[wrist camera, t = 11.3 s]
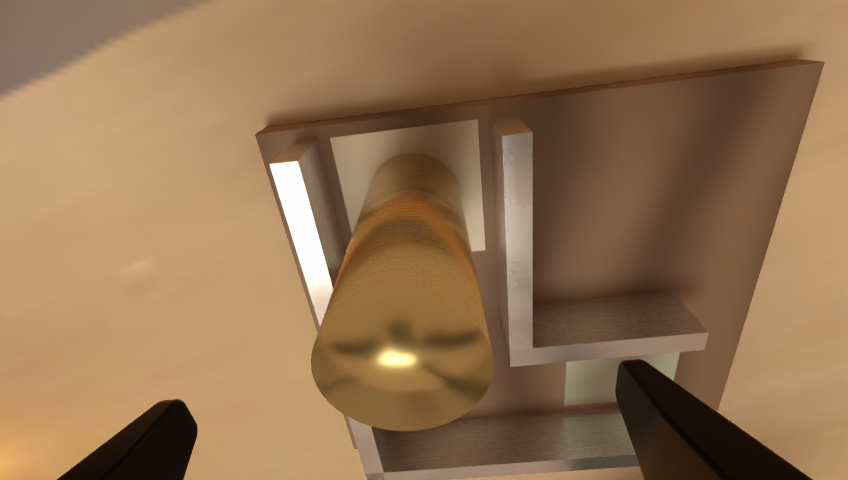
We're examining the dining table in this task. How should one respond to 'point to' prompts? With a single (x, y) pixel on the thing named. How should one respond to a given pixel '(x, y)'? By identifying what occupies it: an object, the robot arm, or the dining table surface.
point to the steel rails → (520, 324)
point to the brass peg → (406, 306)
